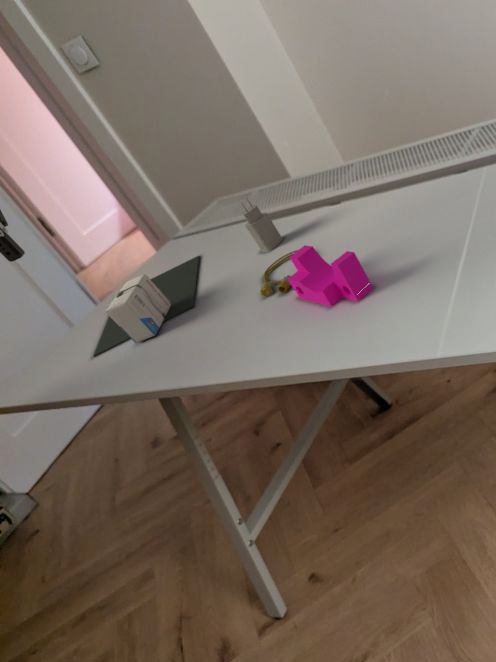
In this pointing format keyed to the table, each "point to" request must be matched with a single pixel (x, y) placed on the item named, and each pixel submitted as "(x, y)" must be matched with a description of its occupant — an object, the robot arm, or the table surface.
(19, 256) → the robot arm
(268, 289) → the braided water hose
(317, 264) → the toy block
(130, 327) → the ink box
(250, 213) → the power adapter
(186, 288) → the mat
